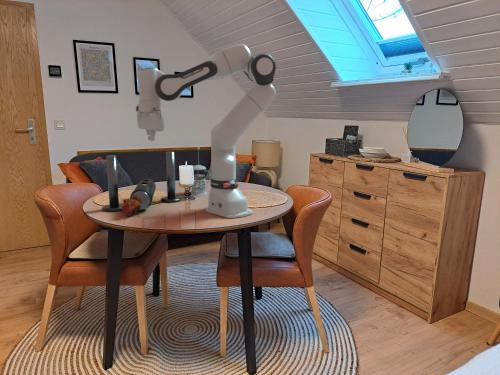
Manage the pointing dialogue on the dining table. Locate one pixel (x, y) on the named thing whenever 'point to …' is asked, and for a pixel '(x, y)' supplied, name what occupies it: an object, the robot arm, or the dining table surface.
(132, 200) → the pomegranate
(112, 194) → the posts
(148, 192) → the muzzle brake
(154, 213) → the dining table surface
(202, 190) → the french press
